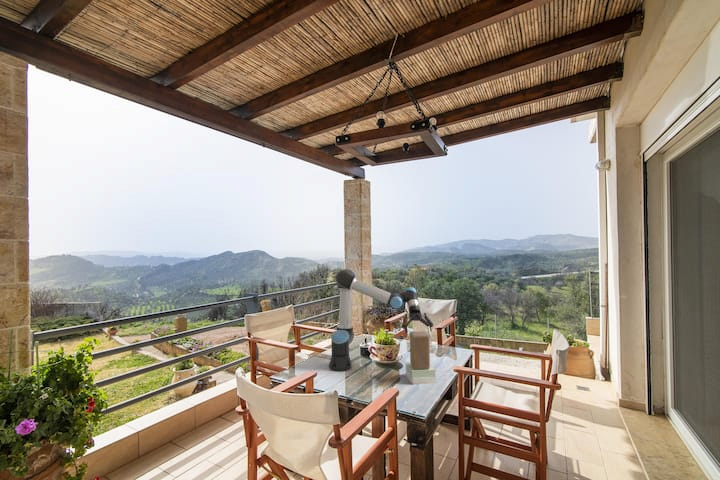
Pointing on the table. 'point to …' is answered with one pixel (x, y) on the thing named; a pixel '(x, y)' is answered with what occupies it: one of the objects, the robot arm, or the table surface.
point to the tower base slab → (421, 379)
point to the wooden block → (419, 350)
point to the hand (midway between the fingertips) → (419, 336)
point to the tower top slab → (420, 371)
